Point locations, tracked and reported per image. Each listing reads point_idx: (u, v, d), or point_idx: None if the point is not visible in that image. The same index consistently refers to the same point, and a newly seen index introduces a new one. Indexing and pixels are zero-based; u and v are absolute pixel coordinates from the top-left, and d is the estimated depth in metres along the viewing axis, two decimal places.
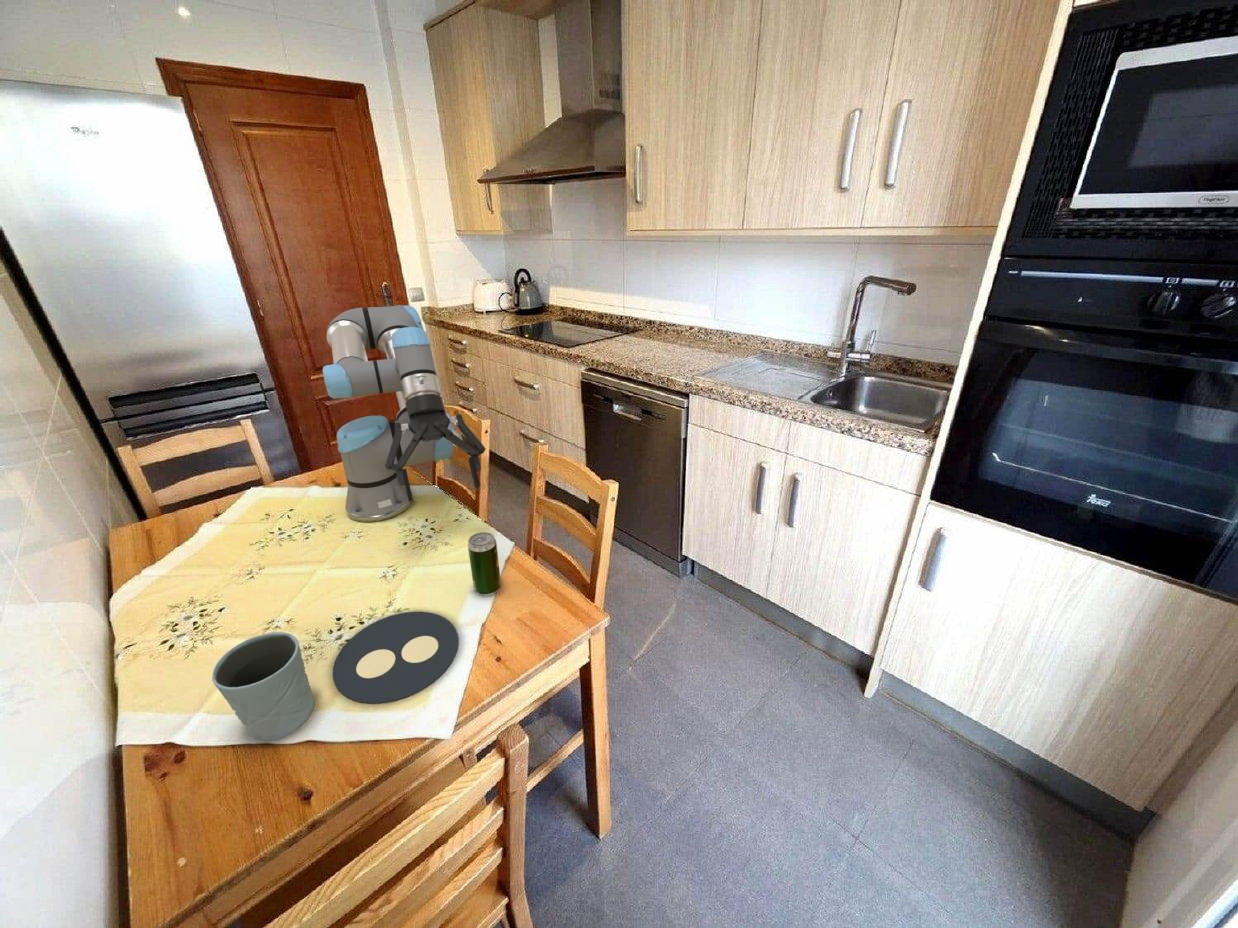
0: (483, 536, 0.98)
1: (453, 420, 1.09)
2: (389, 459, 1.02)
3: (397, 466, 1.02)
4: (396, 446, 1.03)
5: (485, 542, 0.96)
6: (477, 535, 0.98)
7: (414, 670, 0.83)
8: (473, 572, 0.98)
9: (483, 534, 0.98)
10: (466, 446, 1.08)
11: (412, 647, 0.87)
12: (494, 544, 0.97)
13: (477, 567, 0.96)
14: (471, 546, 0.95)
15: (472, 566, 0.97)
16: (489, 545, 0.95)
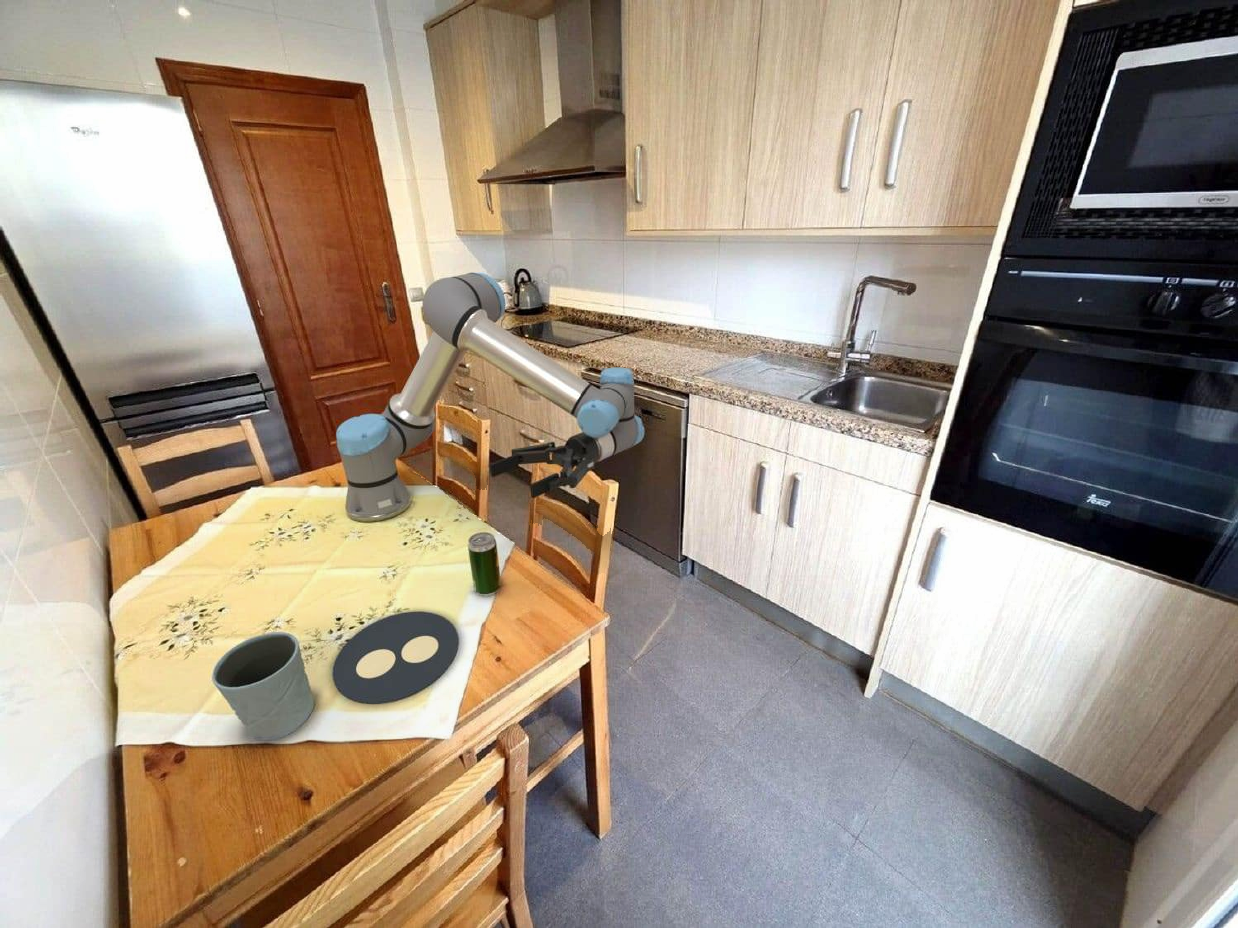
0: (483, 536, 0.98)
1: None
2: None
3: None
4: None
5: (485, 542, 0.96)
6: (477, 535, 0.98)
7: (414, 670, 0.83)
8: (473, 572, 0.98)
9: (483, 534, 0.98)
10: None
11: (412, 647, 0.87)
12: (494, 544, 0.97)
13: (477, 567, 0.96)
14: (471, 546, 0.95)
15: (472, 566, 0.97)
16: (489, 545, 0.95)
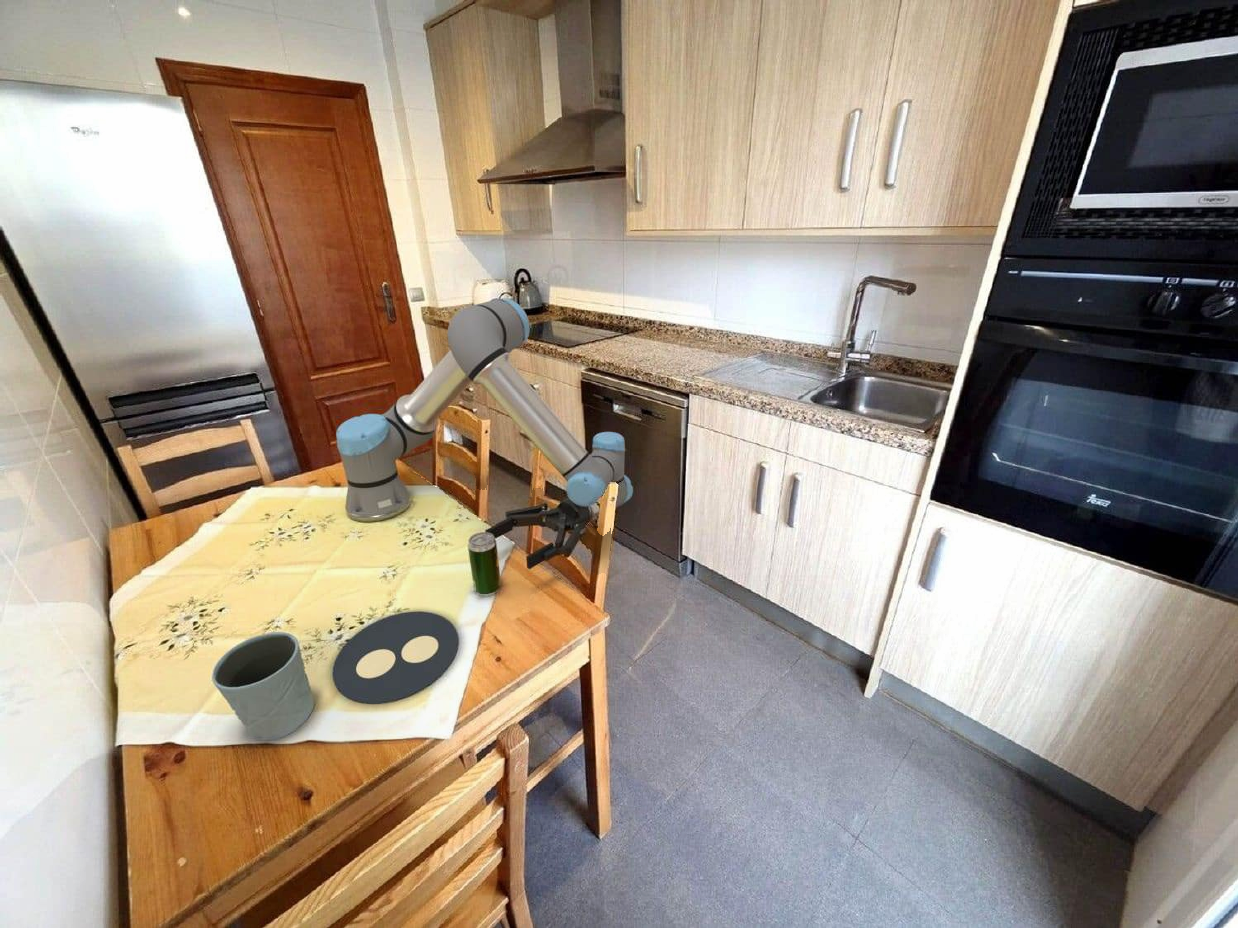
0: (483, 536, 0.98)
1: None
2: None
3: None
4: None
5: (485, 542, 0.96)
6: (477, 535, 0.98)
7: (414, 670, 0.83)
8: (473, 572, 0.98)
9: (483, 534, 0.98)
10: None
11: (412, 647, 0.87)
12: (494, 544, 0.97)
13: (477, 567, 0.96)
14: (471, 546, 0.95)
15: (472, 566, 0.97)
16: (489, 545, 0.95)
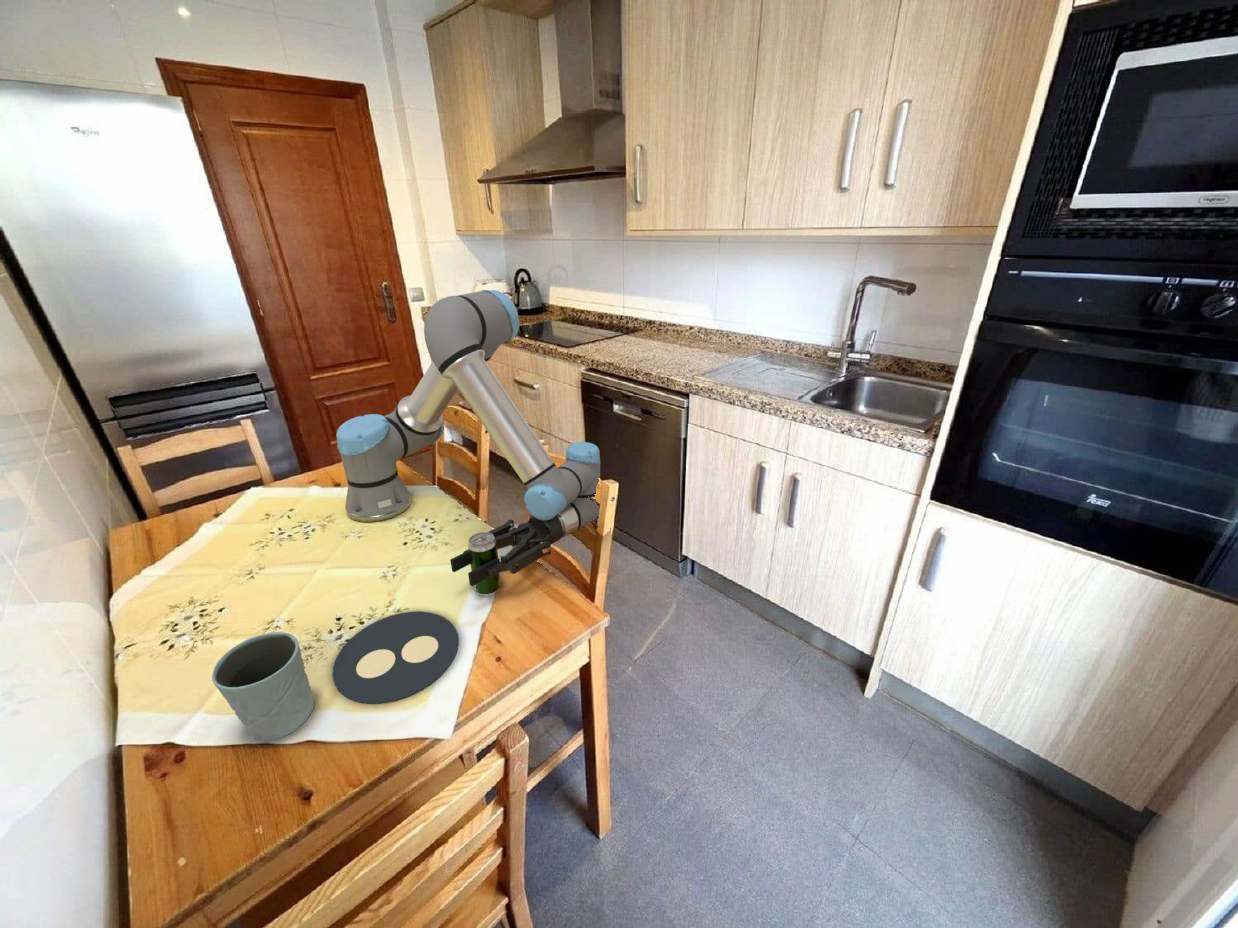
0: (483, 536, 0.98)
1: None
2: None
3: None
4: None
5: (485, 542, 0.96)
6: (477, 535, 0.98)
7: (414, 670, 0.83)
8: None
9: (483, 534, 0.98)
10: None
11: (412, 647, 0.87)
12: (494, 544, 0.97)
13: (477, 567, 0.96)
14: (471, 546, 0.95)
15: (472, 566, 0.97)
16: (489, 545, 0.95)
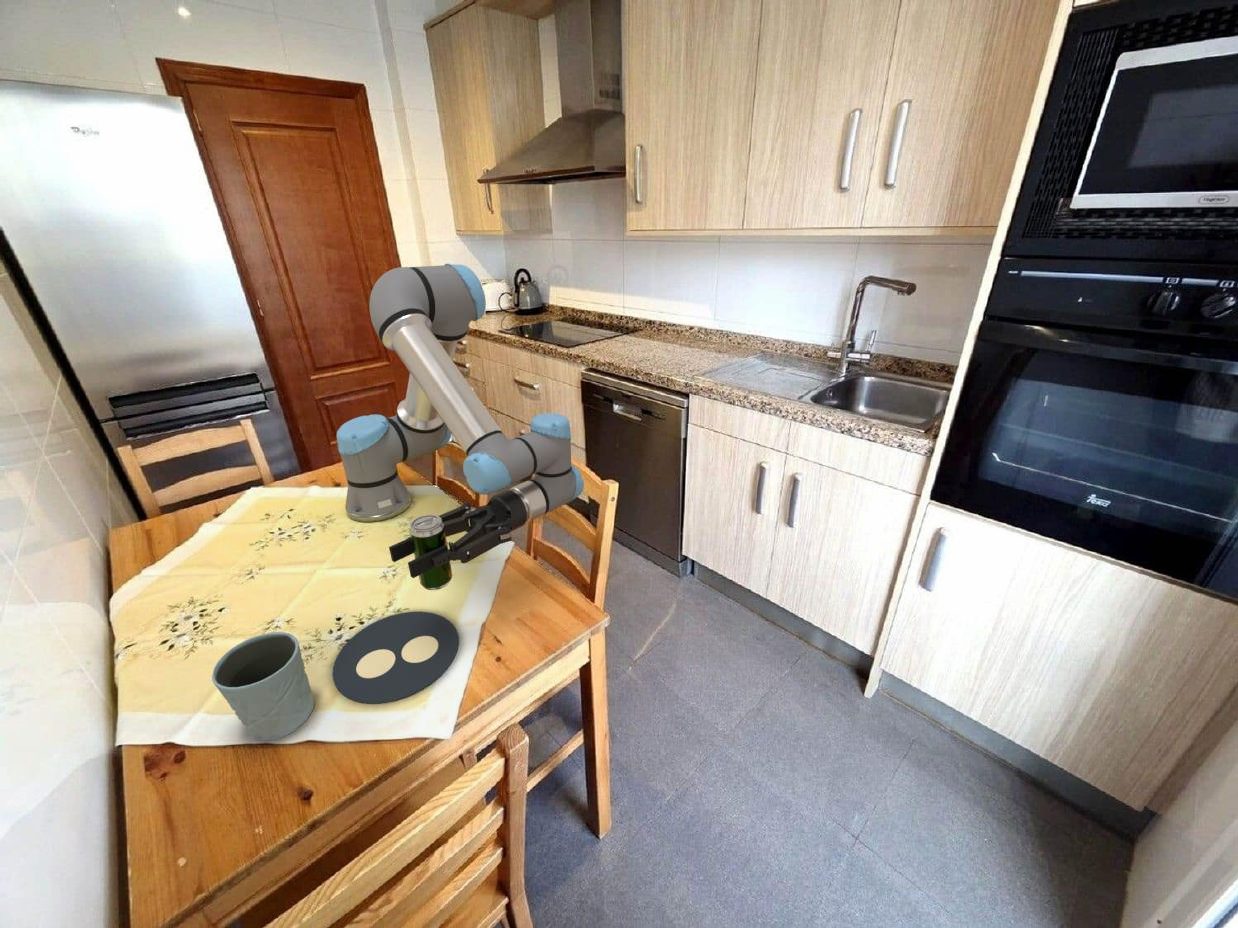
0: (428, 519, 0.83)
1: None
2: None
3: None
4: None
5: (430, 526, 0.81)
6: (422, 518, 0.83)
7: (414, 670, 0.83)
8: None
9: (429, 517, 0.83)
10: None
11: (412, 647, 0.87)
12: (441, 528, 0.82)
13: None
14: (413, 531, 0.80)
15: (415, 555, 0.82)
16: (434, 529, 0.80)
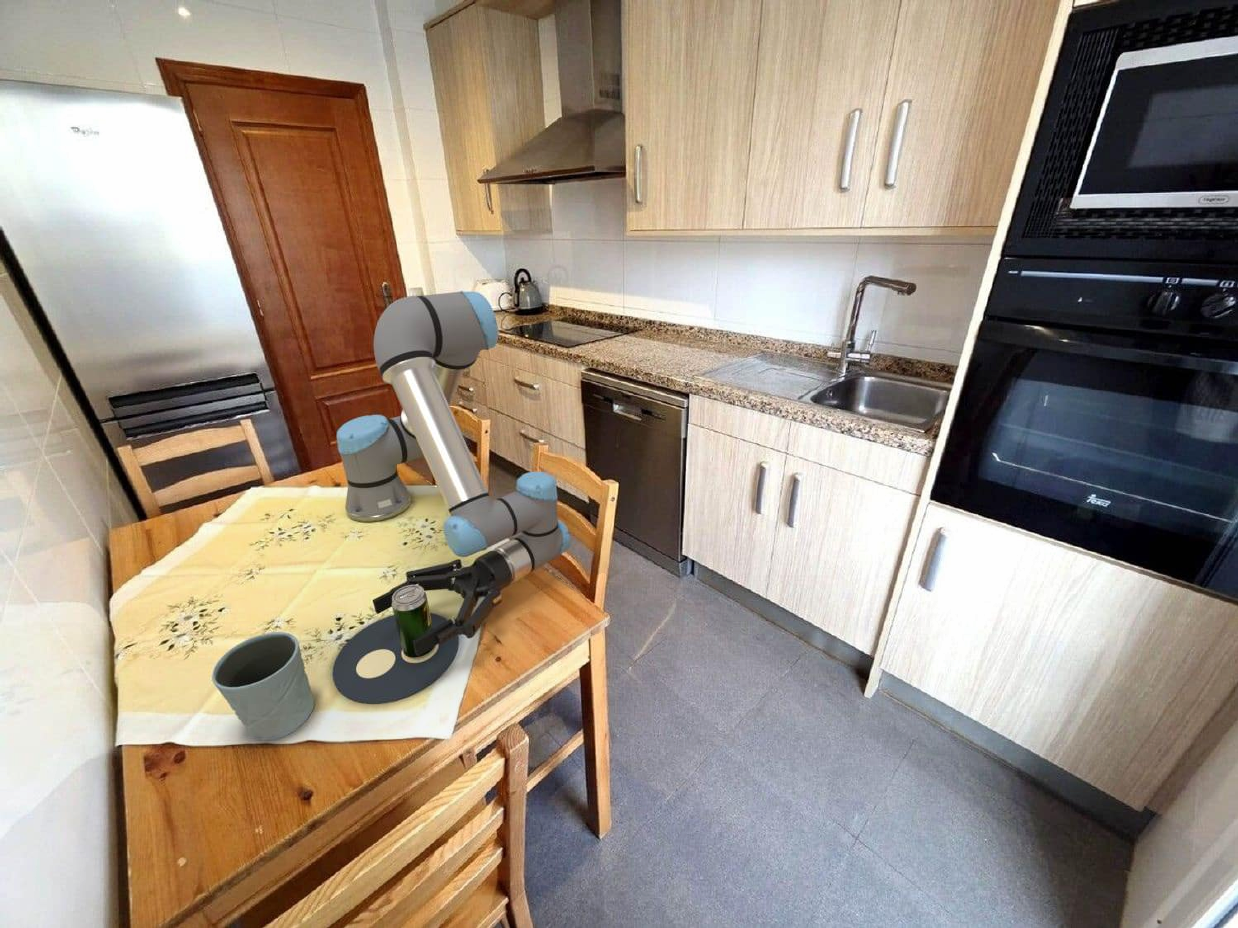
0: (411, 590, 0.83)
1: None
2: None
3: None
4: None
5: (412, 599, 0.81)
6: (404, 589, 0.83)
7: (414, 670, 0.83)
8: (399, 633, 0.83)
9: (411, 587, 0.83)
10: None
11: None
12: (423, 600, 0.82)
13: (402, 628, 0.81)
14: (394, 604, 0.80)
15: (397, 626, 0.82)
16: (416, 602, 0.80)
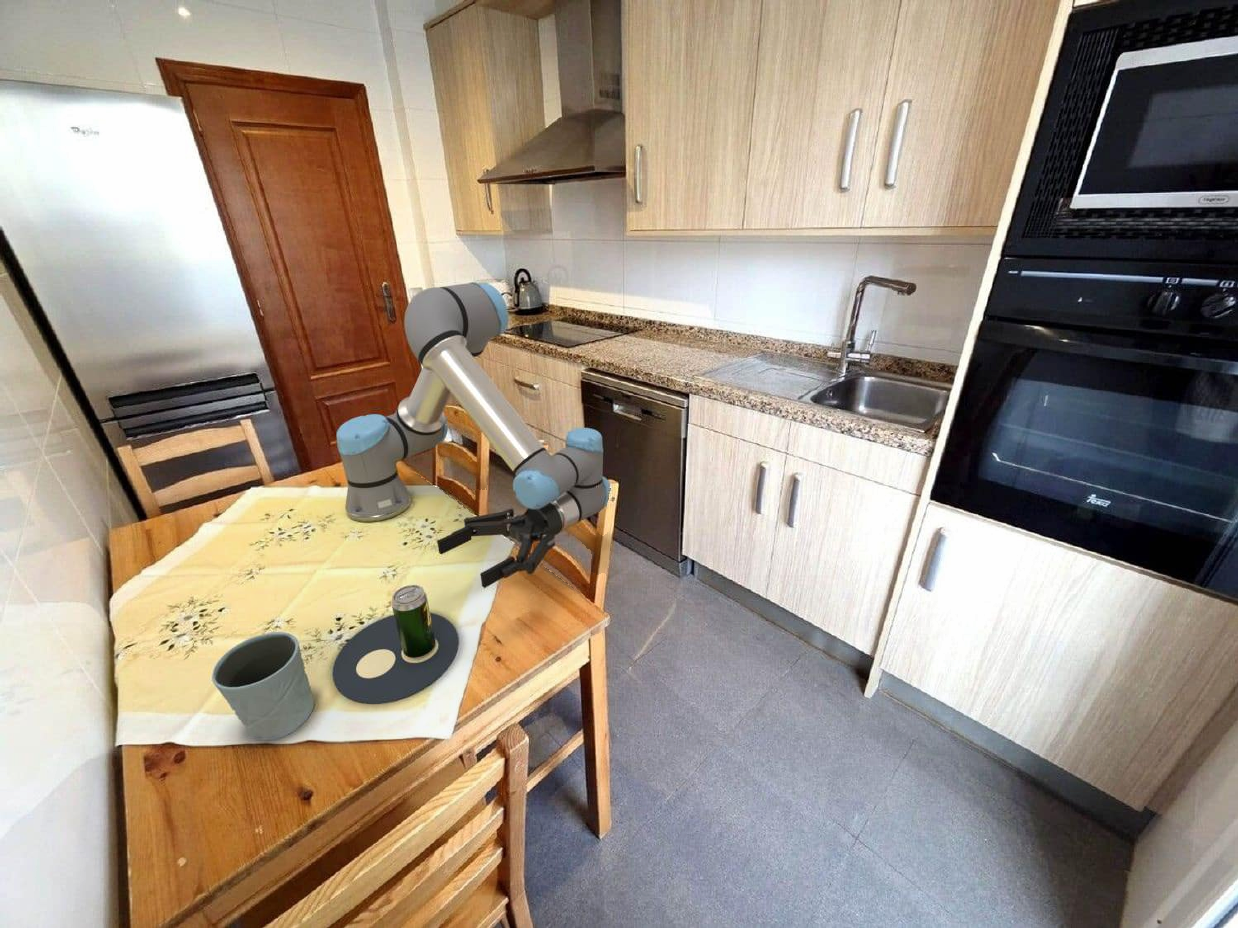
0: (411, 590, 0.83)
1: None
2: None
3: None
4: None
5: (412, 599, 0.81)
6: (404, 589, 0.83)
7: (414, 670, 0.83)
8: (399, 633, 0.83)
9: (411, 587, 0.83)
10: None
11: None
12: (423, 600, 0.82)
13: (402, 628, 0.81)
14: (394, 604, 0.80)
15: (397, 626, 0.82)
16: (416, 602, 0.80)
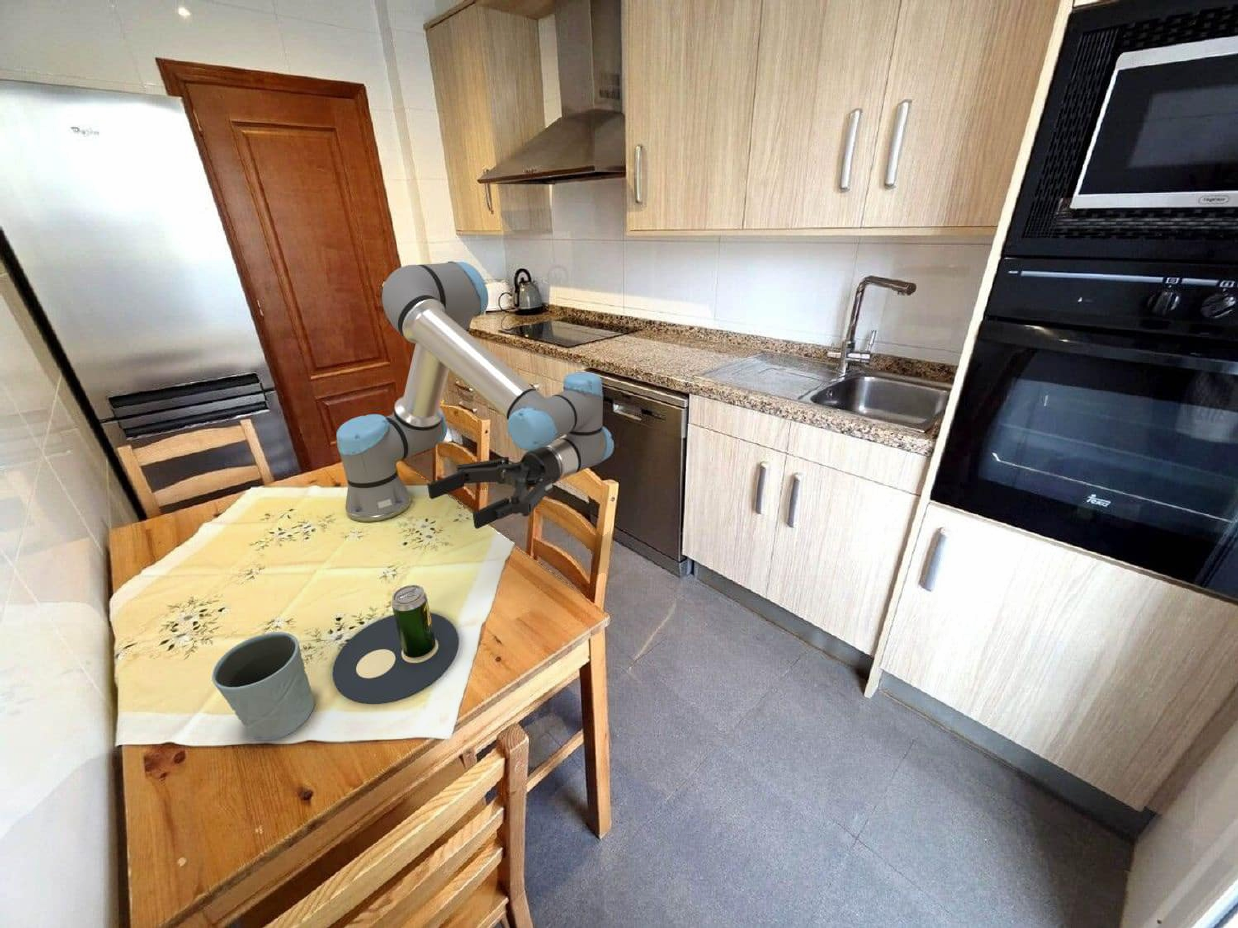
0: (411, 590, 0.83)
1: None
2: None
3: None
4: None
5: (412, 599, 0.81)
6: (404, 589, 0.83)
7: (414, 670, 0.83)
8: (399, 633, 0.83)
9: (411, 587, 0.83)
10: None
11: None
12: (423, 600, 0.82)
13: (402, 628, 0.81)
14: (394, 604, 0.80)
15: (397, 626, 0.82)
16: (416, 602, 0.80)
